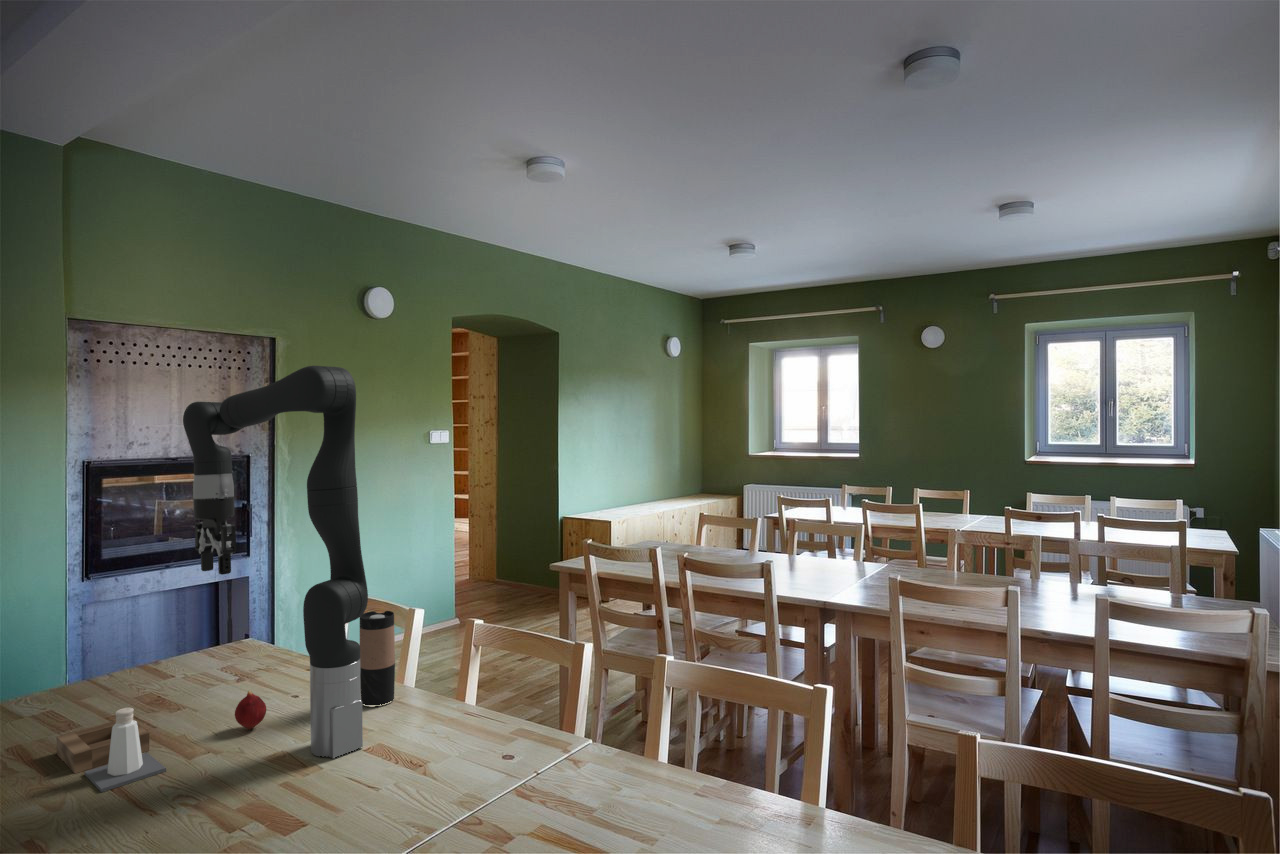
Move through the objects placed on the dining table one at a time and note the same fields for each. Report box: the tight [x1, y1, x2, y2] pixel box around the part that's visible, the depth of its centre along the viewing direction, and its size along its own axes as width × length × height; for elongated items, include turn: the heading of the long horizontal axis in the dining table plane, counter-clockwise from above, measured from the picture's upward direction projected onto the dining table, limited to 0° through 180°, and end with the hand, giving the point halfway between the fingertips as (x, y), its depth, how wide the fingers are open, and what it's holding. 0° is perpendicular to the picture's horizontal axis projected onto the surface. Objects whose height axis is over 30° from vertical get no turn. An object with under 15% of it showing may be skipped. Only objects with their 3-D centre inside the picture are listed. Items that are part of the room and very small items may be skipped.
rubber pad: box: [83, 752, 167, 793], centre depth 137 cm, size 10×10×1 cm
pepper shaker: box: [107, 707, 143, 776], centre depth 137 cm, size 5×5×11 cm
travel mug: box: [359, 610, 396, 705], centre depth 171 cm, size 8×8×20 cm
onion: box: [234, 690, 267, 730], centre depth 156 cm, size 6×6×8 cm
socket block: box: [56, 720, 150, 774], centre depth 145 cm, size 12×12×4 cm
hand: (216, 572), depth 158 cm, fingers open, 8 cm apart
